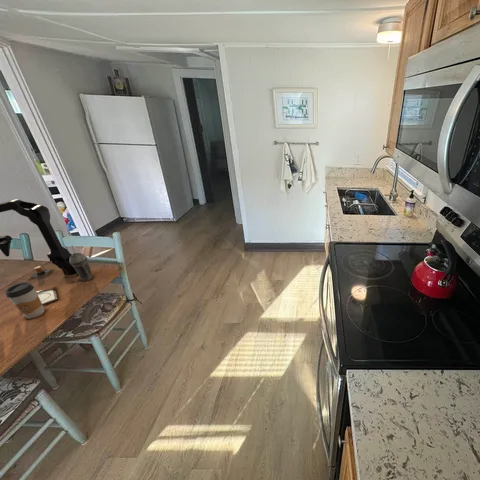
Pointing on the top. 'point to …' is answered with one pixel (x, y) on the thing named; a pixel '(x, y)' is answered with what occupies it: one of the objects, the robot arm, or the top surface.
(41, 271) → the stamp
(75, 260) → the beverage cup
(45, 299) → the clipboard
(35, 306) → the coffee cup
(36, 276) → the ink pad
